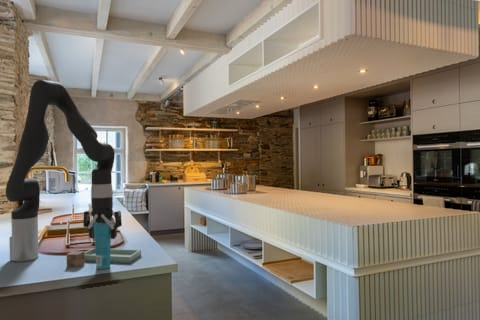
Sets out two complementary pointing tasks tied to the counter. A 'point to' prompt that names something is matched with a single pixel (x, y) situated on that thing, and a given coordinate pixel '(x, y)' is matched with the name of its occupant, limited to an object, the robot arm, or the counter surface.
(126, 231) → the counter surface
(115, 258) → the tray
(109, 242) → the tube
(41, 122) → the robot arm
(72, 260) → the walnut block
